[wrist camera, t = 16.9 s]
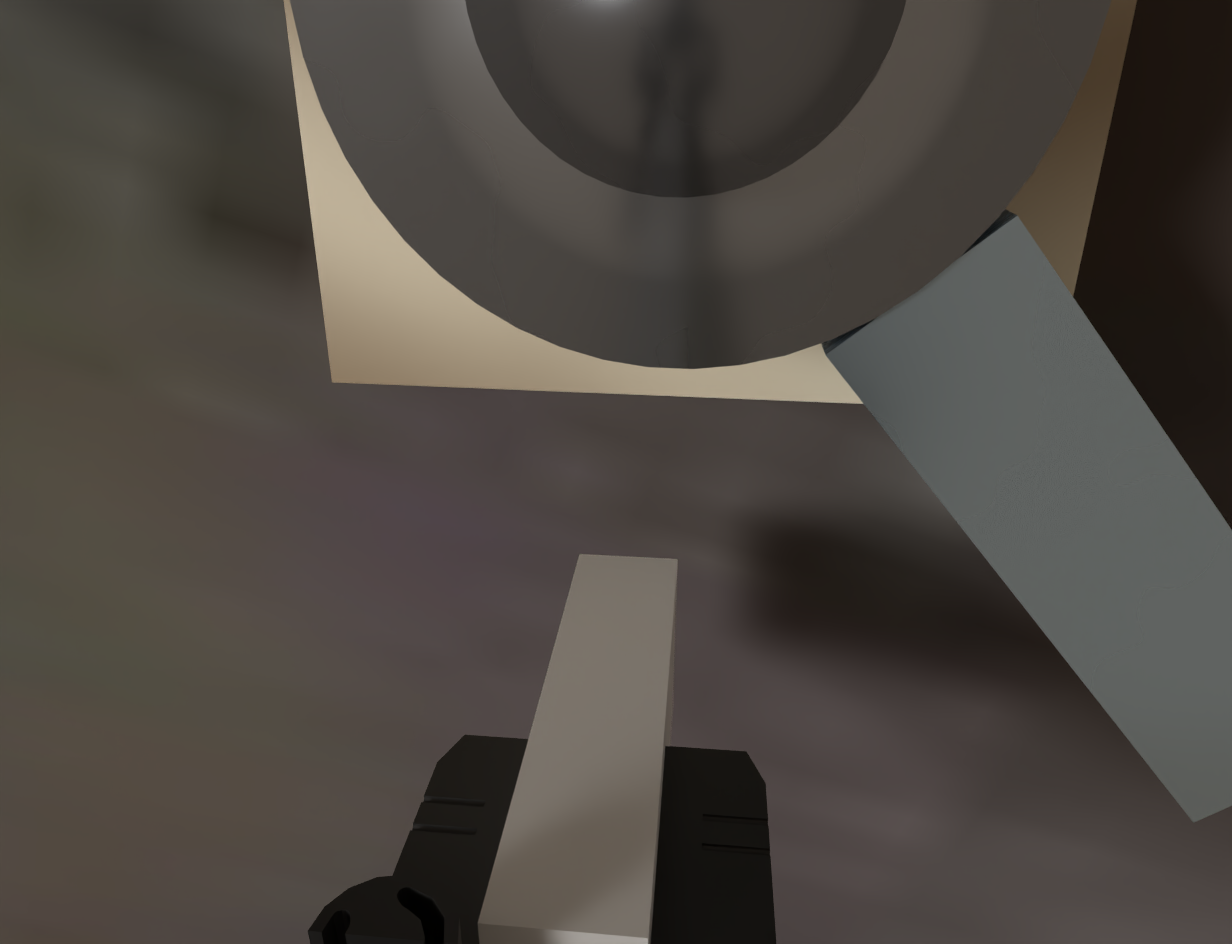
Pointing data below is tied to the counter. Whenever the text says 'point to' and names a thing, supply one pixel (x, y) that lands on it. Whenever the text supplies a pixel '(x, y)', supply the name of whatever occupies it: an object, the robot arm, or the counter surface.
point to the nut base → (513, 359)
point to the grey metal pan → (819, 268)
